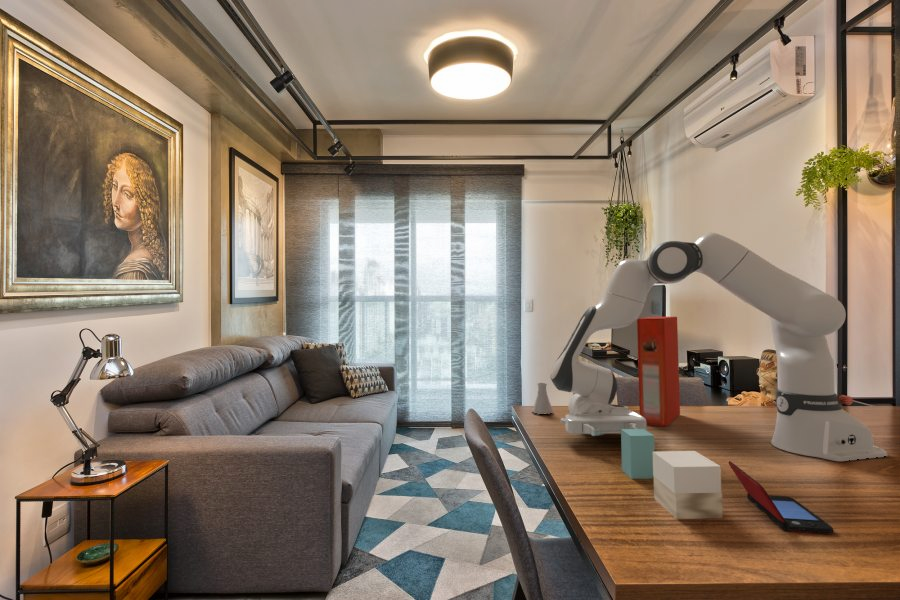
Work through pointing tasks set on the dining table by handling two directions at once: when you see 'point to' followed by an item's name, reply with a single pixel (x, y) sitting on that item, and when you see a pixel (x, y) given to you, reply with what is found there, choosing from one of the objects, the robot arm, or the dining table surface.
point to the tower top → (687, 472)
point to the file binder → (658, 369)
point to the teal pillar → (637, 453)
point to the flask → (542, 400)
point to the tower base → (688, 503)
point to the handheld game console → (782, 508)
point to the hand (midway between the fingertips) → (615, 432)
